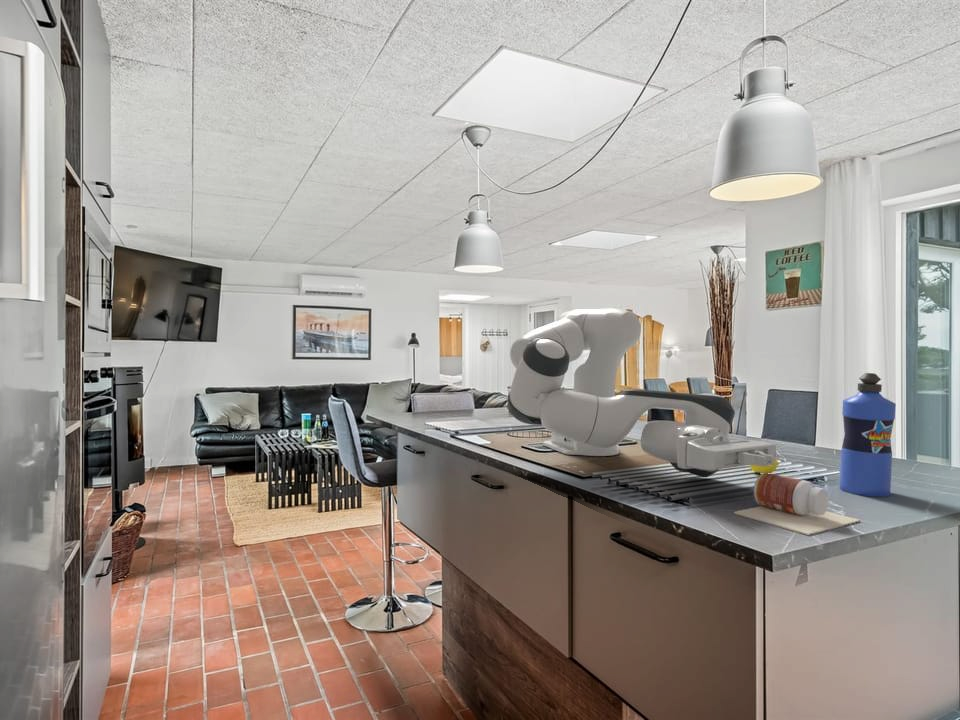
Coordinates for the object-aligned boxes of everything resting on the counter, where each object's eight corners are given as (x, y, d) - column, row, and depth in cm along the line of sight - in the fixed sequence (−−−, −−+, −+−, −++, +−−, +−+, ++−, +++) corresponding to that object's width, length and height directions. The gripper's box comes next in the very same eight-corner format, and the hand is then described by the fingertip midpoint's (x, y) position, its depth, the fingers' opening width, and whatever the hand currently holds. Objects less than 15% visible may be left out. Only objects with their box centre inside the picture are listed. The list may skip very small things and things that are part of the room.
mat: (734, 513, 108) (734, 511, 108) (786, 502, 116) (786, 500, 116) (808, 535, 97) (808, 533, 97) (860, 521, 105) (860, 519, 105)
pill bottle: (750, 505, 111) (811, 520, 102) (754, 471, 111) (815, 484, 102) (768, 505, 115) (829, 519, 106) (772, 472, 115) (832, 484, 106)
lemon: (744, 475, 142) (742, 452, 142) (755, 472, 145) (753, 450, 146) (773, 477, 137) (771, 453, 137) (784, 474, 140) (782, 450, 140)
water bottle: (828, 485, 131) (834, 371, 130) (868, 485, 132) (874, 372, 131) (859, 497, 122) (865, 374, 121) (902, 497, 123) (908, 375, 122)
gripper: (737, 459, 128) (801, 472, 116) (672, 468, 117) (734, 484, 106) (739, 430, 128) (802, 440, 116) (673, 436, 117) (735, 448, 105)
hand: (769, 461), depth 111 cm, fingers closed
